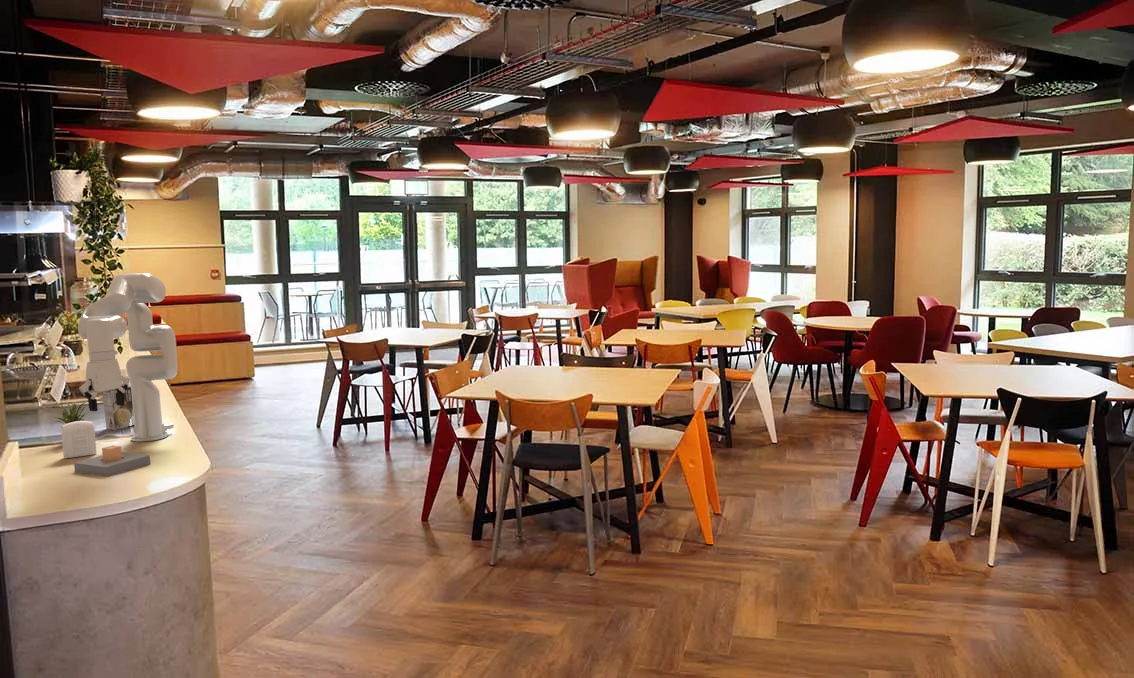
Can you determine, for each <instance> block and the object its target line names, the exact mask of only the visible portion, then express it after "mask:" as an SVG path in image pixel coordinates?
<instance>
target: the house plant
mask: <svg viewBox="0 0 1134 678" xmlns="http://www.w3.org/2000/svg"><path fill="white" fill-rule="evenodd" d="M64 402H65V403H66V404H67V406H68V409H69V412H68V410H67V409H66V407H65V406H62V404H61V405H60V404H57V405H58V406H59V407H60V409H61V411H62V413H61V415H62V417H60V416H59V417H58V416H54V418H55V419H58V420H55V421H54V423H55V422H56V423H61V424H63V423H65V424H68V423H71V422H75V421H85V419H87V416H86V414H88V413H90V411H89V412H85V413H83V414H81V413H82V412H83V411H84V410H85V408H87V406H88V407H89V404H88V403H87V402H88V400H86V401H84V402H82V403H80V405H78V403H75V401H72V406H71V405H70V404H69V402H68V401H67V400H66V401H65V400H64ZM51 409H53V410H54V408H51ZM83 418H85V419H83ZM61 430H62V427H61Z"/></svg>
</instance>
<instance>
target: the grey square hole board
mask: <svg viewBox="0 0 1134 678" xmlns="http://www.w3.org/2000/svg"><path fill="white" fill-rule="evenodd" d="M121 453H122V459H119V460H115V461H111V462H108V461H103V454H102V455H98V456H95V457H91V458H88V459H83V460H79V461H75V462H74V463H73V467H74V472H75V473H82V474H88V475H95V476H101V477H102V476H103V477H110V476H113V475H117V474H120V473H124V472H127V471H130V470H131V471H132V470H134V469H138V468H141V467H145V466H149V465H151V456H150V454H145V453H143V454H141V453H136V452H135V453H134V452H128V451H127V452H126V451H121Z"/></svg>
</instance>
